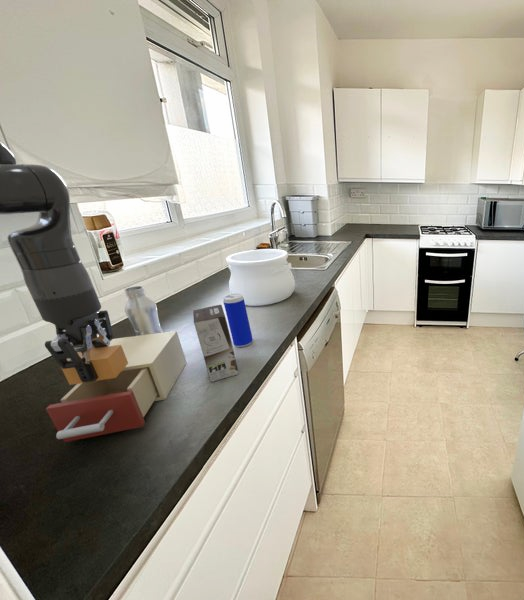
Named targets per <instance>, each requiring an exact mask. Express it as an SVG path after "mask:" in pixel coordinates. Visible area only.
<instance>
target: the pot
mask: <svg viewBox="0 0 524 600" xmlns="http://www.w3.org/2000/svg"><path fill="white" fill-rule="evenodd" d="M288 258H289V253H288V251H286V250H284V249H279V248H260V249H259V248H258V249H251V250H244V251H240V252H236V253H233V254H232V253H231V254H230V255H228V256H226V258H225V261H226V262H225V263H226V264H227V267H228V270H229V272H230V276H229V281H228V290H229V294H242V296H243V298H244V301H245V306H251V307H253V306H254V307H257V306H258V307H261V306H268V305H272V304H275V303H279V302H280V303H281V302H282V301H284V300H287V299H288V298H290V297H291V296H292V295H293V293H294V291H295V288H296V282H295V277H294V274H293V273H292V271H291V270H292V269H293V267H292V263H291V262H288V260H287V259H288Z"/></svg>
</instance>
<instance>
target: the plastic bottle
mask: <svg viewBox="0 0 524 600" xmlns="http://www.w3.org/2000/svg"><path fill="white" fill-rule="evenodd" d="M146 293H147V292H146V290H145V289H144V286H142V285H136V286H131V287H127V288H125V289H124V294H125V297H126V298H128V299H127V301H126V303H125V305H124V313H125V315H126V317H127V318H128V320H129V322H130V323H131V326H132V328H133V329H134V332H135V336H140V335H148V334H155V333H163V332H164V331H163V329H162V326H161V324H160V323H161V322H160V318H159V311H158V305H157V303H156V302H155V300H153V299H152V298H151V297H149V296H147V295H146Z"/></svg>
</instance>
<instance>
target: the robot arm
mask: <svg viewBox="0 0 524 600" xmlns="http://www.w3.org/2000/svg"><path fill="white" fill-rule="evenodd" d="M27 213H29V214H31V213H38V216H37V220H36V222H35V223H34V224H32V225H30V226H28V227H23V228H20V229H17V230H14V231H11V232H10V233H9V234H8V235H7V237H6V238H7V243H8V246H9V248H10V250H11V252H12V254H13V256H14V257H15V260H16V262H17V264H18V266H19V269H20V271H21V273H22V277H23V280H24V284H25V286H26V288H27V291H28V292H29V294H30V297H31V298H32V300H33V302H34V304H35V306H36V308H37V310H38V313H39V315H40V317H41V319H42V321H44V322H45V323H46V322H47V323H50V324H53V325H54V327H55V334H56V337H55V338H54V339H53V340H46V341H45V342H44V347H45V349H46V350H47V351H48V353H50V355H51V356H52V357H53V359H54V360H55V361H56V363H57V364H58V365H59V366H60V368H61V367H62V368H63V369H66V368H73V367H74V368H75V369H76V371H77V373H78V375H79V378H80V380H81V381H82V382H84V383H86V382H93V381H96V380H97V379H98V375H97V373H96V371H95V369H94V366H93V364H92V362H91V358H90V350H92V349H93V348H100V347H108V346H109V345H110V341H111V340H112V339H114V337H115V335H114V332H113V328H112V324H111V319H110V314H109V312H108V311H109V310H107V309H106V310H101V309H102V304H101V302H100V299H99V297H98V294H97V292H96V290H95V286H94V284H93V282H92V279H91V276H90V274H89V272H88V270H87V269H86V267H85V265H84V263H83V261H82V260H81V257H80V254H79V252H78V249H77V247H76V245H75V242H74V240H73V236H72V235H73V234H72V226H71V199H70V191H69V188H68V185H67V183H66V182H65V181H64V179H63V178H62V177H61V176H60V175H59V174H58V173H57V172H56V171H55V170H53V169H52V168H50V167H48V166H46V165H42V164H32V163H31V164H29V163H27V164H25V163H24V164H23V163H22V164H20V163H18V164H17V159H16V157H15V155H14V154H13V152H12V151H11V150H10V149H9V148H8V146H6V145H5V144H4V143H3V142H2V141H0V215H16V214H17V215H18V214H27ZM74 346H75V347H74ZM76 346H82V347H76ZM77 352H81V353H82V358H81V357H80V356H79V355H78V353H77ZM68 358H69V361H67V359H68ZM62 368H61V369H62Z"/></svg>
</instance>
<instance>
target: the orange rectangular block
mask: <svg viewBox="0 0 524 600" xmlns="http://www.w3.org/2000/svg"><path fill="white" fill-rule="evenodd" d="M77 353H78V355H79V356H80V357H81V358H82V353H81V352H77ZM90 358H91V362H92V364H93V366H94V369H95V371H96V373H97V375H98V379H97V380H96V381H99V380H105V379H112V378H116V377H117V376H118V374H119V373H120V372H121V371H122V370H123V369H124V368H125V367H126V365H127V364H128V361H127V359H126V356H125V354H124V351H123V348H122V346H121V345H115V346H108V347H100V348H92V350H90ZM66 359H67V361H69V358H66ZM60 369H61V370H62V372H63V374H64V376H65V378H66V380H67V383H68V385H69V386H72V385H77V384H80V383H84V382H82V381H81V380H80V378H79V375H78V373H77V371H76V369H75V368H74V367H73V368H66V369H63V368H62V367H61V366H60Z"/></svg>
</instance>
